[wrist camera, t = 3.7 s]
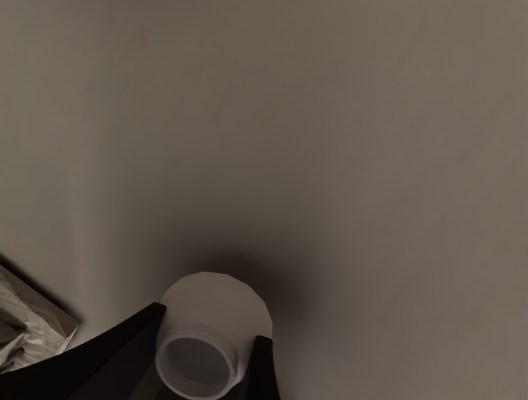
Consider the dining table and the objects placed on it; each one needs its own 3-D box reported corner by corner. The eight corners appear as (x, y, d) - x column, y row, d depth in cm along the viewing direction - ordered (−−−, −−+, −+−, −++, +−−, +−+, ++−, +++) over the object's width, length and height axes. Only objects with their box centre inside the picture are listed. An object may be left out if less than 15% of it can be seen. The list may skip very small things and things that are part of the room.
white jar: (288, 354, 15) (250, 255, 14) (281, 413, 12) (232, 295, 11) (190, 371, 16) (147, 281, 15) (162, 429, 13) (107, 323, 12)
